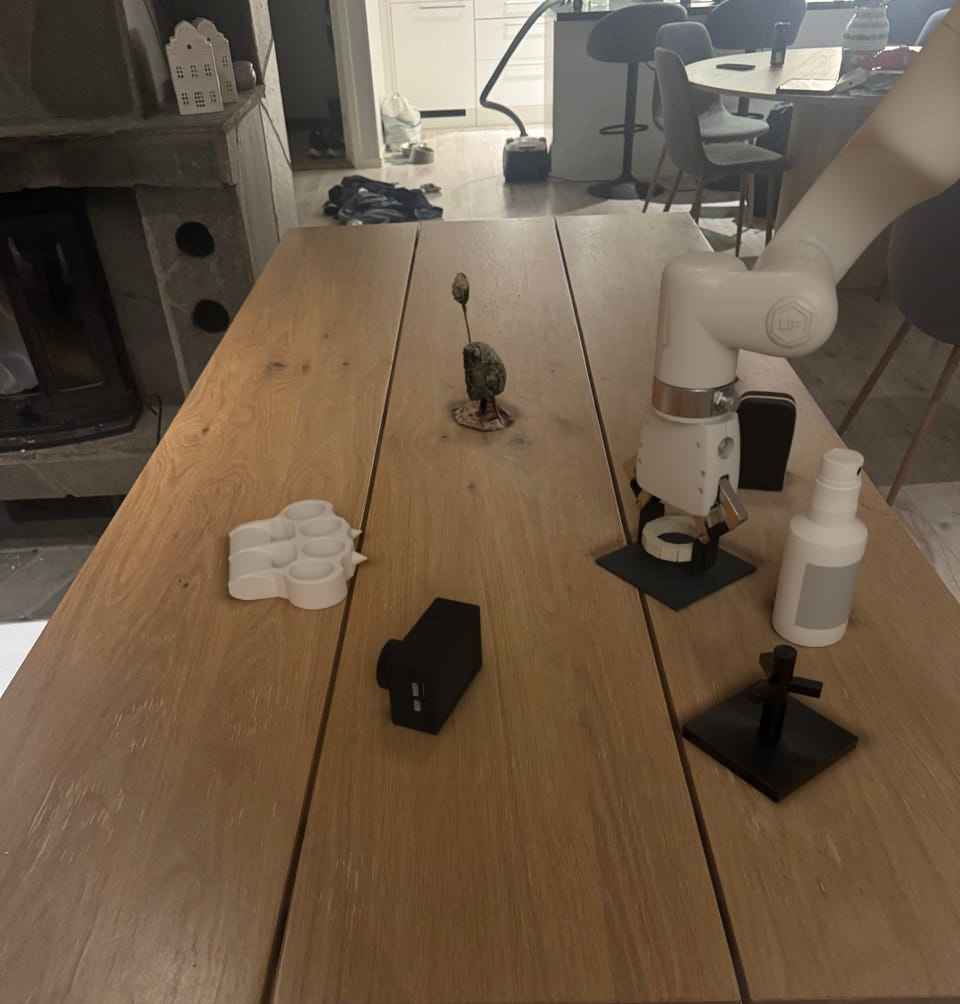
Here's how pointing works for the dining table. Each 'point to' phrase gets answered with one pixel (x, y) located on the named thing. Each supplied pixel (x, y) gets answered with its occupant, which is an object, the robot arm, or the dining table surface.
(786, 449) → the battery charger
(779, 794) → the rack
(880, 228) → the robot arm
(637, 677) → the dining table surface
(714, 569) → the mat
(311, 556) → the white brass knuckles
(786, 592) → the spray bottle
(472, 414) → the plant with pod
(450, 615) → the digital camera
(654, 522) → the ring
